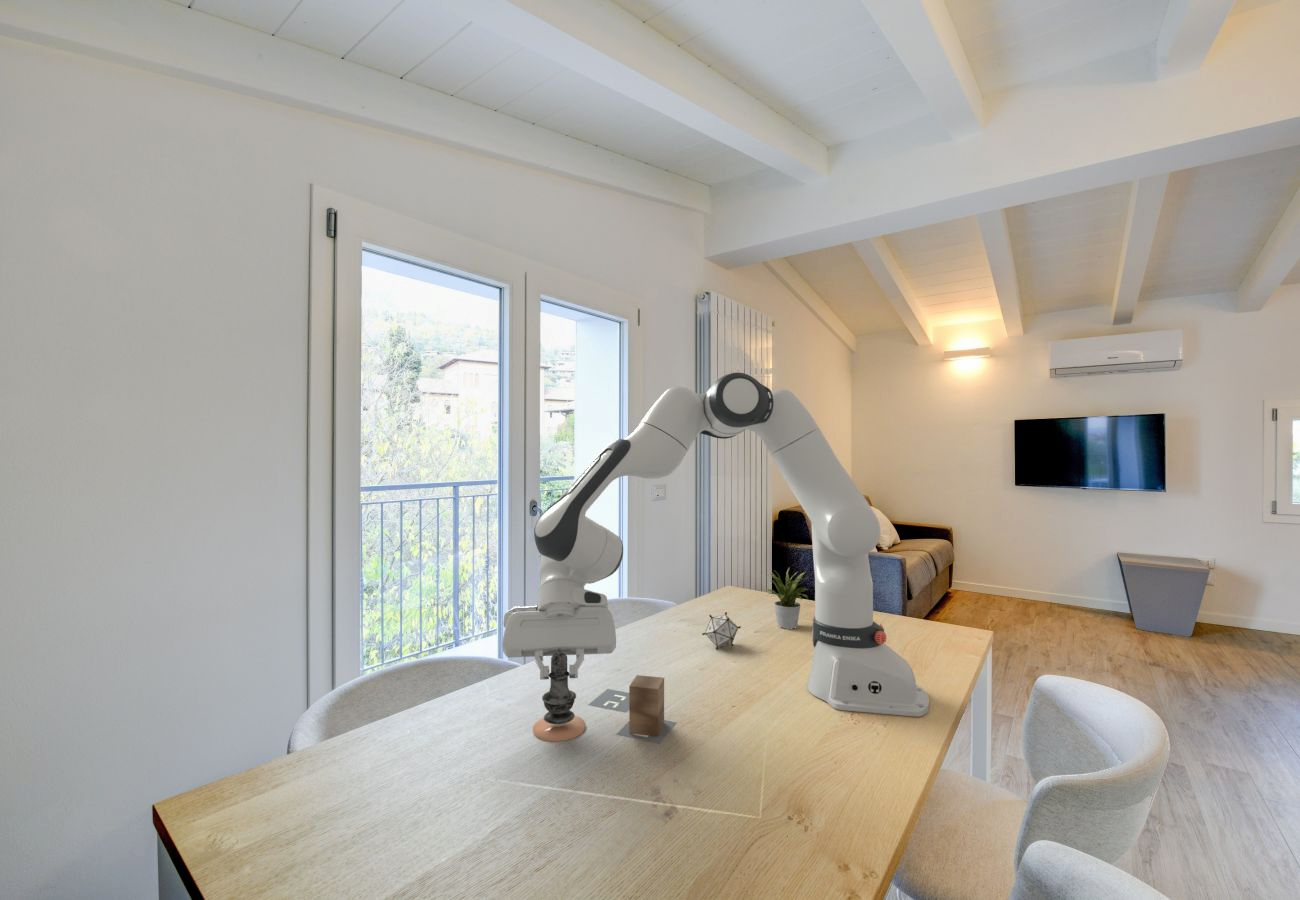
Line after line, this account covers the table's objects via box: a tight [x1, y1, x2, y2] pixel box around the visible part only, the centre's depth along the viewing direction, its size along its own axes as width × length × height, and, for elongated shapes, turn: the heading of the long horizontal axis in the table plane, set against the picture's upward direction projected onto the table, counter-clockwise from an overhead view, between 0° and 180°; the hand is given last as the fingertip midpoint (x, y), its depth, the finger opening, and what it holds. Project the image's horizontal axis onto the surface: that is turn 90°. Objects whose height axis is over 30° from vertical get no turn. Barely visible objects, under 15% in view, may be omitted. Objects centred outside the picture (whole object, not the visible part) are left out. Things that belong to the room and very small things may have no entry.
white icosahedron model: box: [701, 611, 742, 650], centre depth 142 cm, size 9×8×10 cm
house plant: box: [760, 566, 810, 628], centre depth 158 cm, size 14×14×16 cm
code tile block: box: [616, 719, 678, 745], centre depth 100 cm, size 8×8×1 cm
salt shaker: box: [541, 648, 577, 724], centre depth 100 cm, size 6×6×12 cm
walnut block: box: [628, 674, 665, 737], centre depth 100 cm, size 5×5×8 cm
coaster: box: [532, 714, 586, 742], centre depth 100 cm, size 9×9×1 cm
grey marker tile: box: [587, 688, 629, 713], centre depth 111 cm, size 8×8×1 cm
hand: (559, 677), depth 99 cm, fingers closed on salt shaker, 4 cm apart
